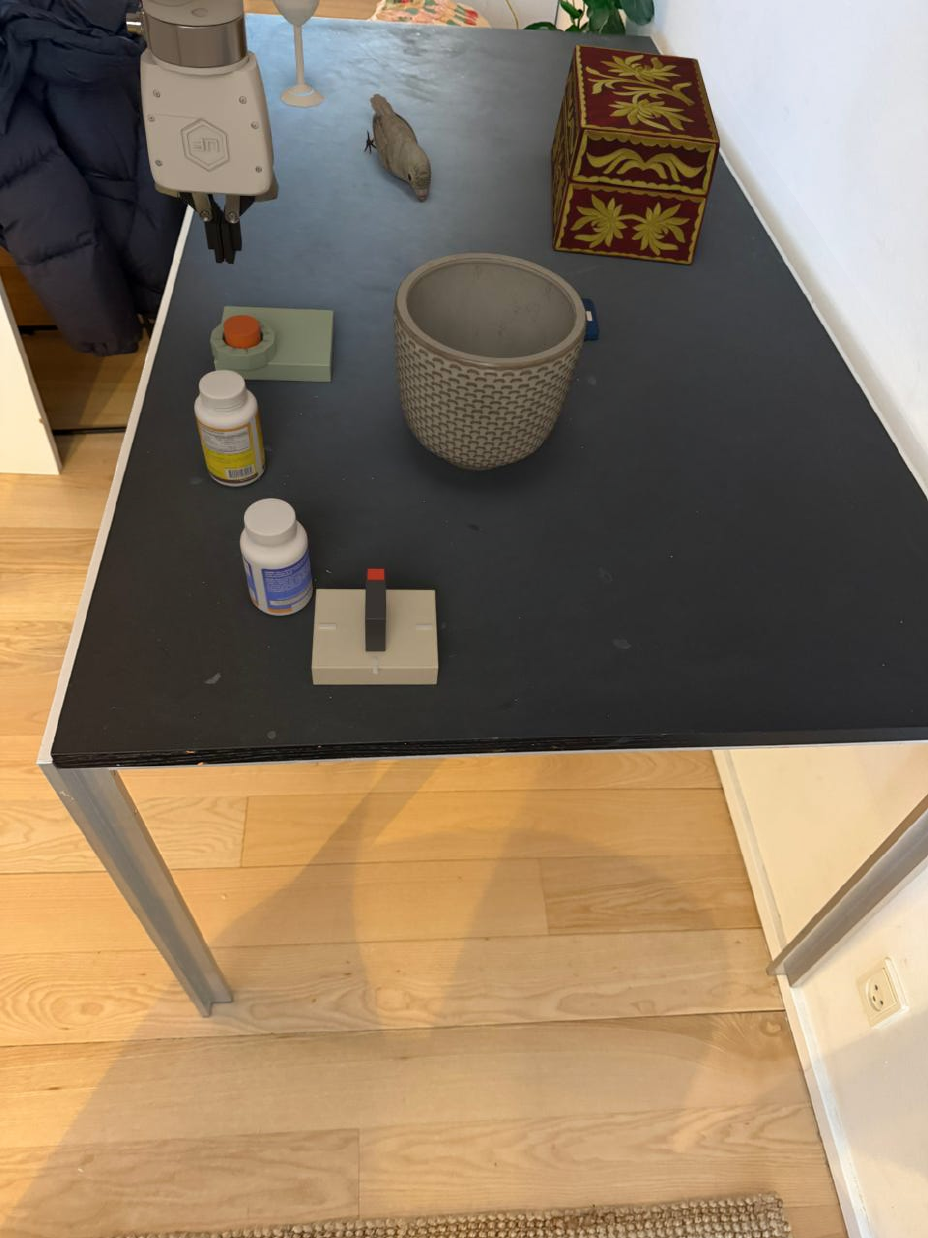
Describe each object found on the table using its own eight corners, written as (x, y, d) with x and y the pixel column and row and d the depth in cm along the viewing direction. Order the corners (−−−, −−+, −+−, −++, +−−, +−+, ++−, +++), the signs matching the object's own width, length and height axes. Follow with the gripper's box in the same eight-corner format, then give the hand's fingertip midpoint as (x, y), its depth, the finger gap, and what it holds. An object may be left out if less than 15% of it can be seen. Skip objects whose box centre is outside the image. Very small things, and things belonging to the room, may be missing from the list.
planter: (357, 424, 89) (355, 283, 76) (488, 370, 96) (505, 233, 84) (458, 527, 82) (474, 390, 69) (592, 460, 89) (628, 324, 76)
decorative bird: (405, 206, 116) (406, 149, 110) (358, 152, 125) (357, 96, 119) (441, 200, 118) (444, 143, 112) (393, 146, 126) (394, 91, 120)
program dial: (385, 651, 69) (386, 617, 66) (365, 651, 69) (364, 616, 65) (385, 602, 72) (386, 566, 69) (366, 602, 72) (365, 566, 68)
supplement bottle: (233, 442, 86) (218, 355, 78) (278, 464, 85) (267, 379, 77) (195, 473, 83) (175, 387, 75) (240, 497, 82) (225, 412, 73)
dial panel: (312, 691, 69) (310, 673, 67) (318, 601, 75) (316, 581, 73) (436, 691, 70) (438, 673, 68) (433, 602, 76) (434, 582, 74)
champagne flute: (332, 99, 134) (326, -96, 115) (300, 110, 131) (287, -88, 112) (303, 83, 136) (291, -110, 117) (270, 95, 133) (253, -102, 114)
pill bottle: (324, 583, 76) (318, 505, 68) (292, 627, 73) (282, 550, 65) (271, 561, 77) (260, 482, 70) (237, 603, 74) (221, 525, 66)
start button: (223, 349, 89) (221, 334, 88) (227, 328, 91) (225, 313, 90) (259, 350, 89) (257, 336, 88) (262, 329, 92) (260, 315, 90)
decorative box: (692, 266, 113) (730, 147, 101) (552, 251, 112) (573, 130, 101) (673, 166, 130) (703, 54, 118) (550, 152, 129) (568, 38, 117)
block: (213, 386, 91) (207, 354, 88) (224, 322, 98) (219, 290, 94) (330, 389, 92) (328, 358, 89) (334, 326, 99) (332, 295, 96)
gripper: (88, 46, 65) (138, 273, 79) (291, 62, 66) (304, 282, 81) (108, 10, 69) (152, 231, 84) (297, 26, 71) (308, 240, 85)
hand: (226, 255), depth 82 cm, fingers closed
